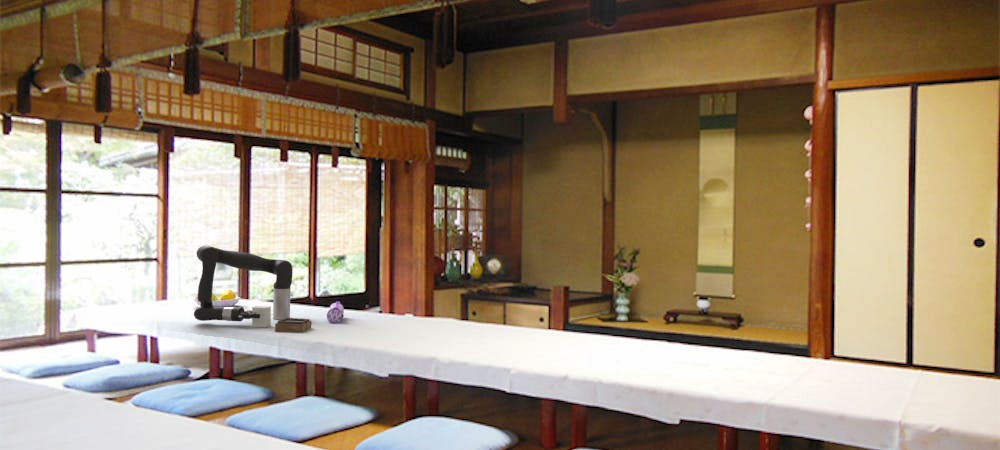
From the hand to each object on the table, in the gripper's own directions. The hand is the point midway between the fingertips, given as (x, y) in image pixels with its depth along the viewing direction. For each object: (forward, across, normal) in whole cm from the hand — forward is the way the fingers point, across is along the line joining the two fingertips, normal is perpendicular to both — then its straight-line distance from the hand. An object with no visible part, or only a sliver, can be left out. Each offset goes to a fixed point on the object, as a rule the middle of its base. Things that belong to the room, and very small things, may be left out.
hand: (263, 315), depth 374 cm
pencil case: (+30, +28, +6) cm, 42 cm away
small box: (-1, 0, +6) cm, 6 cm away
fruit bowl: (-56, +62, +6) cm, 84 cm away
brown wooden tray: (+19, -7, +6) cm, 21 cm away
